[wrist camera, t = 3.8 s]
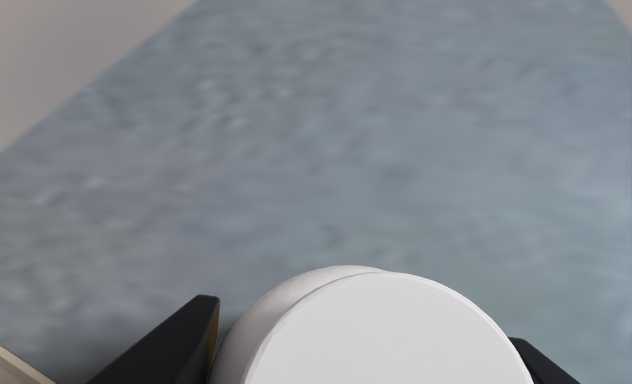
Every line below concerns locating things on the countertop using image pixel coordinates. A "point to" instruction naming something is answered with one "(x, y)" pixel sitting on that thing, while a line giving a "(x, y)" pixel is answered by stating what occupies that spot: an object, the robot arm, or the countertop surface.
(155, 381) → the robot arm
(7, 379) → the recess plate
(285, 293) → the supplement bottle
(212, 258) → the countertop surface
